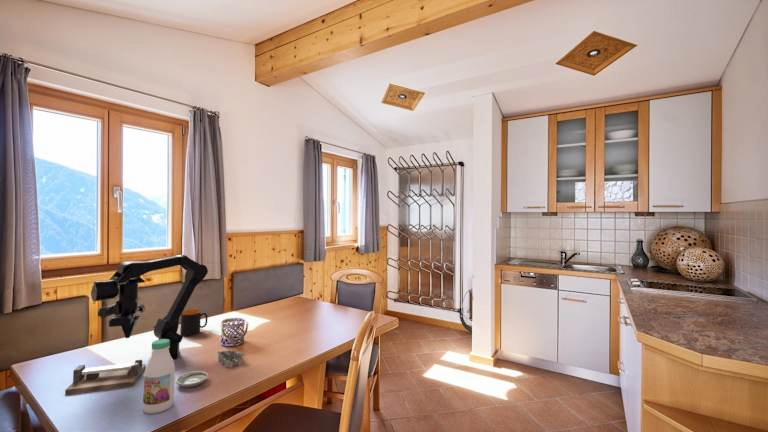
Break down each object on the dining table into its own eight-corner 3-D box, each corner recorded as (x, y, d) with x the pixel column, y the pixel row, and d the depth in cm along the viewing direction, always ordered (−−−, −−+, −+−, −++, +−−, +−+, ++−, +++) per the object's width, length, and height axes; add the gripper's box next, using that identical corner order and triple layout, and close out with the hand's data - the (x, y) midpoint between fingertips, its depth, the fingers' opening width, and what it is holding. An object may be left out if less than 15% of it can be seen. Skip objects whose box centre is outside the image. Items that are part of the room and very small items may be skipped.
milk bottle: (152, 400, 105) (155, 336, 105) (178, 400, 105) (181, 336, 105) (136, 414, 97) (139, 345, 97) (164, 414, 98) (167, 346, 98)
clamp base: (145, 368, 126) (146, 353, 126) (133, 385, 113) (133, 369, 113) (85, 374, 119) (86, 359, 119) (65, 394, 106) (65, 377, 106)
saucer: (173, 393, 109) (173, 386, 110) (178, 379, 118) (178, 373, 118) (206, 388, 113) (206, 381, 113) (208, 375, 122) (209, 369, 122)
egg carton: (244, 364, 132) (245, 354, 132) (224, 369, 127) (224, 359, 127) (235, 355, 140) (235, 345, 140) (216, 360, 135) (216, 350, 135)
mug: (210, 331, 167) (211, 311, 167) (184, 338, 157) (185, 316, 157) (203, 328, 172) (204, 307, 172) (177, 333, 162) (178, 312, 162)
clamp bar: (140, 365, 121) (140, 361, 121) (137, 369, 118) (137, 365, 118) (85, 371, 115) (85, 367, 115) (81, 375, 112) (81, 371, 112)
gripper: (111, 291, 130) (110, 331, 130) (90, 304, 113) (89, 350, 113) (145, 289, 134) (144, 328, 134) (130, 301, 117) (129, 346, 117)
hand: (127, 337), depth 124 cm, fingers closed
